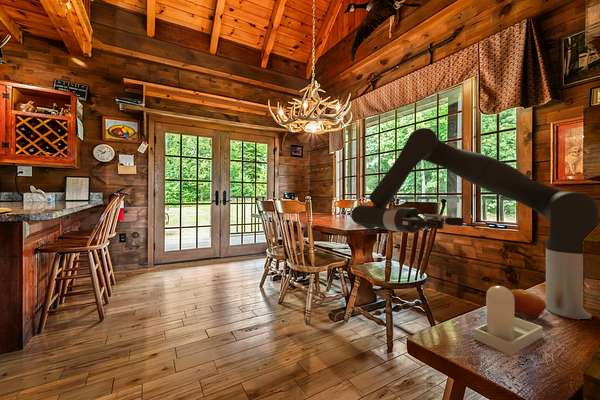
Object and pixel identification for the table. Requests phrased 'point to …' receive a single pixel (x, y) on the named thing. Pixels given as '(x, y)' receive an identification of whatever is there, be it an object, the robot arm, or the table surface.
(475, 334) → the tray
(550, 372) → the table surface
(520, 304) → the fruit
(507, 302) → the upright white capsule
